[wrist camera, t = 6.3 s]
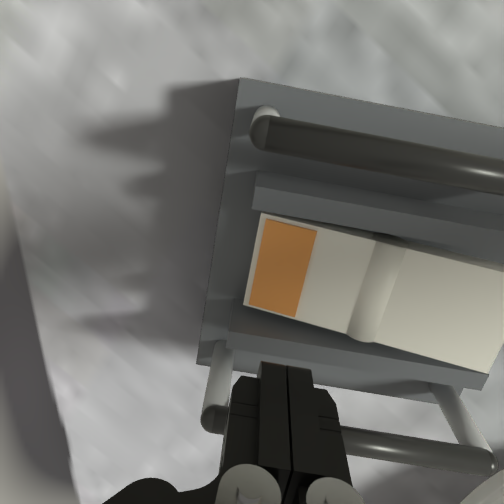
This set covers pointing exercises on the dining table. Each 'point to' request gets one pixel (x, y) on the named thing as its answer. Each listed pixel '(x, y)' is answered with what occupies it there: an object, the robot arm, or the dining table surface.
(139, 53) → the dining table surface
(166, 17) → the dining table surface
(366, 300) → the breaker paddle
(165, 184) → the dining table surface
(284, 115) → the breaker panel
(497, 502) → the plate stack
